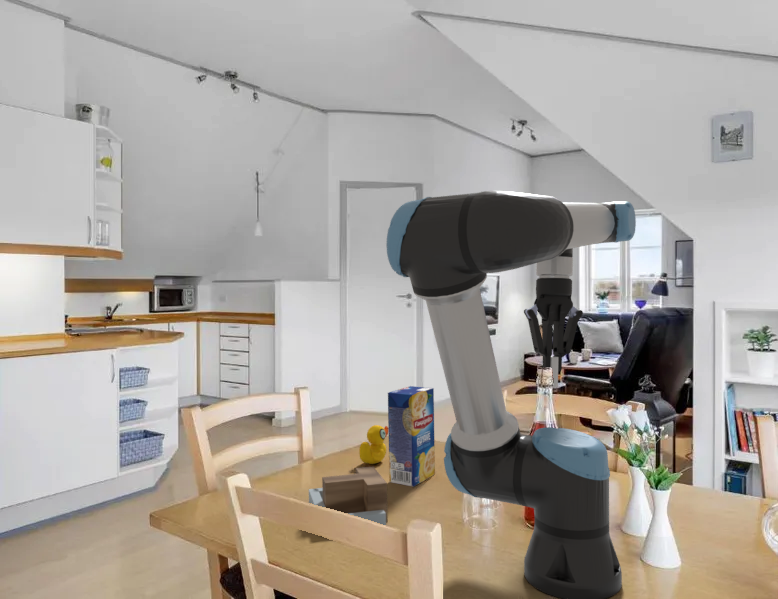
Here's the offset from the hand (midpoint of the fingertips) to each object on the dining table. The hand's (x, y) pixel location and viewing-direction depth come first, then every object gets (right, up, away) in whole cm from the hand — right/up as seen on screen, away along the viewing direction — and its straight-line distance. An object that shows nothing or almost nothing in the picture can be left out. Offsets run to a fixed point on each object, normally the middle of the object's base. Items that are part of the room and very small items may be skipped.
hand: (551, 386), depth 131 cm
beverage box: (-29, -26, +20) cm, 44 cm away
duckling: (-39, -26, +34) cm, 58 cm away
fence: (-44, -27, -3) cm, 51 cm away
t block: (-43, -27, -4) cm, 50 cm away
